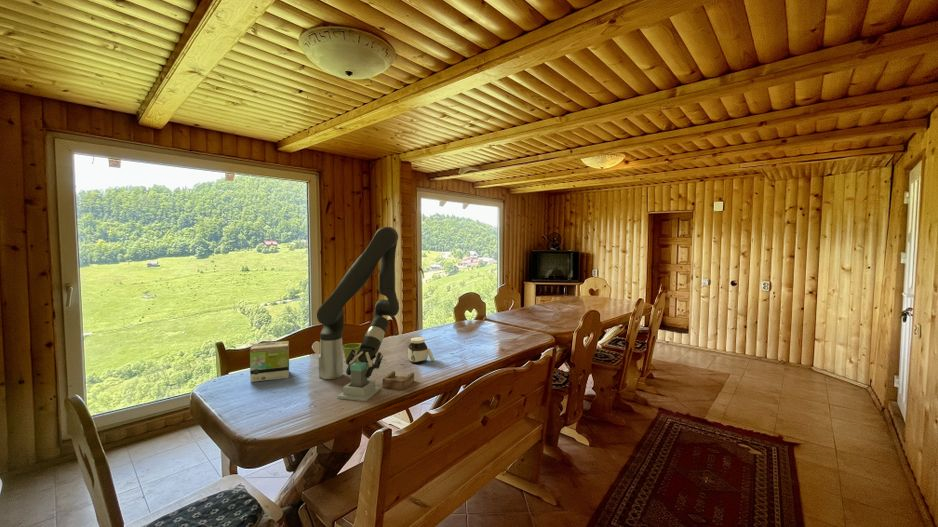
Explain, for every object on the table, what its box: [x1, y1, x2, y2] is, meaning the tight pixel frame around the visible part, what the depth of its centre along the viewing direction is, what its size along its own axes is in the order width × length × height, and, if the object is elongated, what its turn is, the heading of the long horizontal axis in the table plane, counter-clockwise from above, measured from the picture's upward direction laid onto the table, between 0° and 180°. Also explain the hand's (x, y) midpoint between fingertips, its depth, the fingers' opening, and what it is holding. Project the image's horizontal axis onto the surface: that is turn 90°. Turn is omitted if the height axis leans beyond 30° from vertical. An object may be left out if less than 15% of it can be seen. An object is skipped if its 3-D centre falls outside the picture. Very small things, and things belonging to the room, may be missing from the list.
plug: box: [350, 362, 369, 388], centre depth 149 cm, size 5×5×11 cm
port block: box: [337, 379, 381, 402], centre depth 150 cm, size 12×12×4 cm
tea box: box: [249, 340, 290, 383], centre depth 168 cm, size 15×10×15 cm
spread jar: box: [407, 336, 435, 365], centre depth 190 cm, size 12×11×12 cm
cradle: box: [382, 370, 415, 390], centre depth 160 cm, size 10×10×4 cm
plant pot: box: [342, 342, 361, 362], centre depth 188 cm, size 9×9×9 cm
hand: (357, 375), depth 148 cm, fingers open, 8 cm apart
